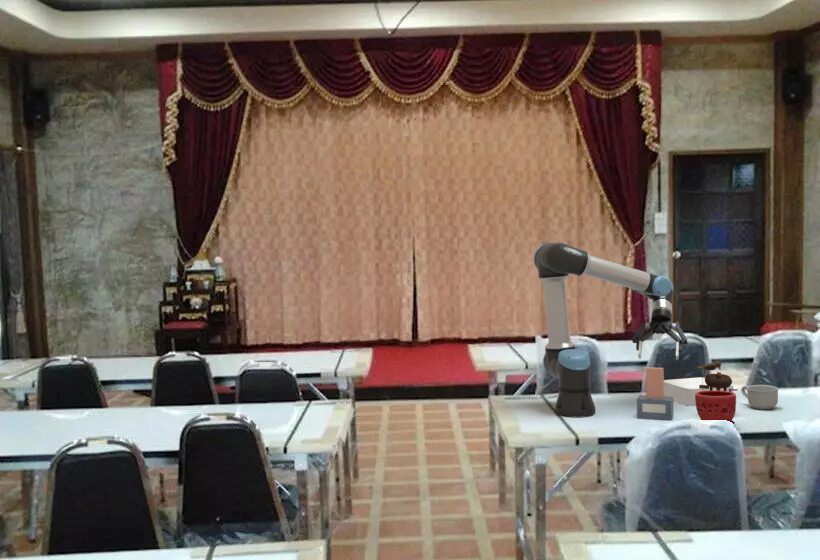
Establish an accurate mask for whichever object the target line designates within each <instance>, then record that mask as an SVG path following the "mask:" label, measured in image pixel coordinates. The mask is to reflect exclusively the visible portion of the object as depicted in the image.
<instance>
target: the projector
mask: <svg viewBox="0 0 820 560" xmlns="http://www.w3.org/2000/svg"><path fill="white" fill-rule="evenodd" d="M702 382H703V385H707V384H706V383H705V377H703V376H702V377H700V376H699V377H690V378H689V377H688V378H675V379H674V378H673V379H664V396H668V397H673V402H674V401H676V402H675V403H677V404H681V405H683V406H684V405H685V406H687V407H688V406H689V407H696V402H695V393H696V392H700V391H702V388H699V385H702ZM729 388H730V389H734V384H733V383H732V384H731V386H730V387H728V388H727V389H726V391H728V392H729ZM703 391H710V387H709V389H703ZM713 391H717V388H713ZM720 391H724V388H721V389H720ZM731 392H733V393H734V391H732V390H731Z"/></svg>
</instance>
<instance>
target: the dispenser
mask: <svg viewBox="0 0 820 560" xmlns="http://www.w3.org/2000/svg"><path fill="white" fill-rule="evenodd" d="M674 415H675V414H674V401H673V397H668V396H664V398H649V397H646V394H642V395H641V394H639V395H638V397H637V398H636V418H637V419H643V420H644V419H645V420H659V421H660V420H661V421H672V420H673V418H674Z"/></svg>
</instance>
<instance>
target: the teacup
mask: <svg viewBox="0 0 820 560" xmlns="http://www.w3.org/2000/svg"><path fill="white" fill-rule="evenodd" d="M746 389H747V390H746ZM746 391H747V392H746ZM740 392H741V394H742V395H743V396H744V397H745V398H746V399H747V402H748V404H749V405H750V406H751V407H752V408H754V409H756V408H757V409H756V410H761V409H768V410H772V409H773V408H774V407H776V406H777V405H778V403H779V400H778V399H779V388H778V387H777V386H774V385H769V384H753V385H743V386H742V387H741V391H740Z"/></svg>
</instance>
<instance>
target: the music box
mask: <svg viewBox="0 0 820 560" xmlns="http://www.w3.org/2000/svg"><path fill="white" fill-rule="evenodd" d="M696 367H697V369H702V373H704V371H705V370H706V371H707V374H706V376H705V377H704V378H705V383H706V384H707V385H703V382H702V385H699V388H702V391H703V389H709V387H710V391H713V388H717V391H720V389H721V388H724V391H726V389H727V388H728V387H730V386H731V384H732V385H733V379H732V378H731V377H730V375H728V374H725V373H724V374H722V372H721V371H722V370H721V367H722V363H721V361H718V360H716V361H715V362H709V363H706V364H704V365H703V366H701V365H700V366H696ZM717 368H718V369H719V371H716V373H710V371H714V370H717ZM731 390H732V391H733V392H734V391H738V390H739V389H737V388H735V389H734V388H733V389H730V388H729V392H731ZM715 405H717V404H715ZM702 406H703V404H702ZM706 407H707V406H706Z"/></svg>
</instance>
